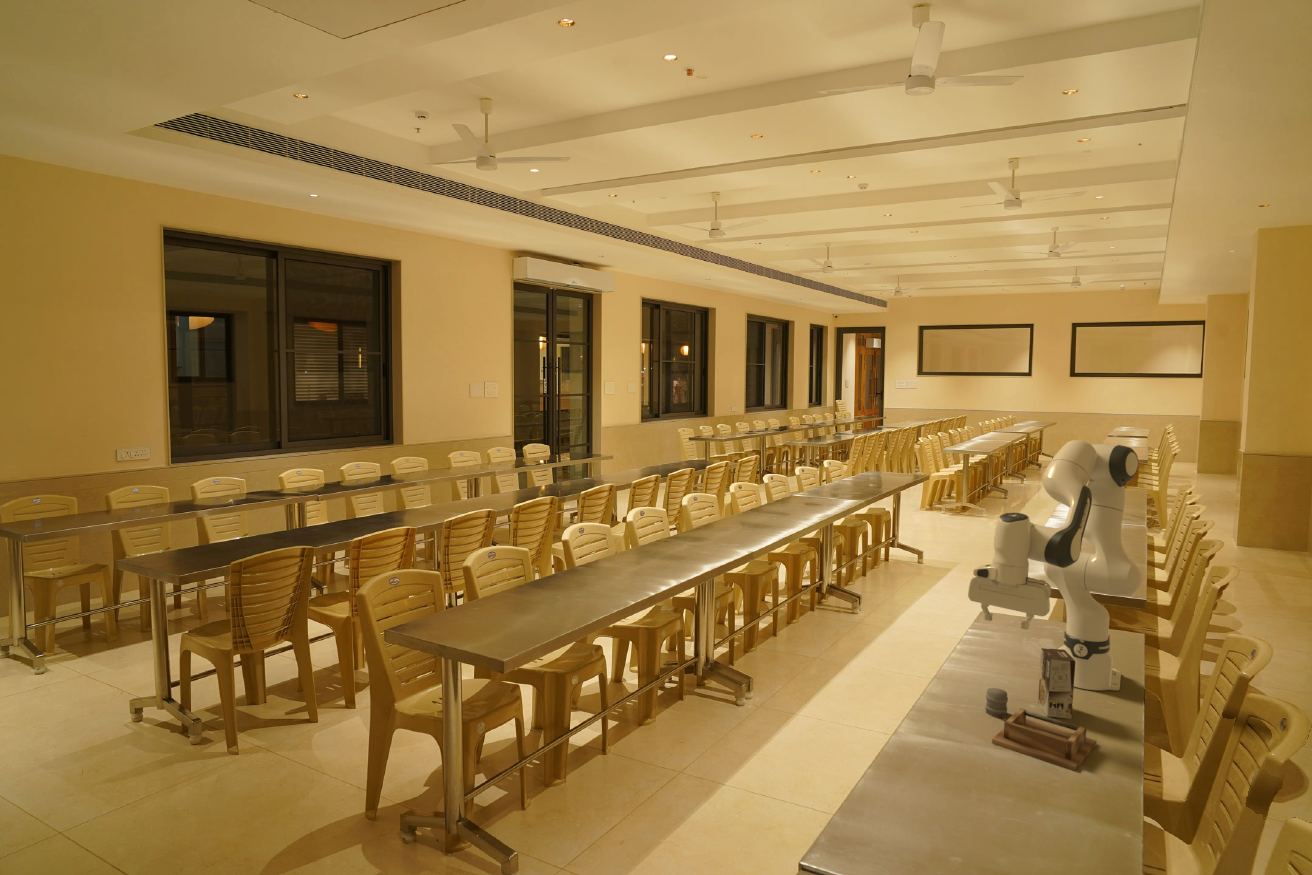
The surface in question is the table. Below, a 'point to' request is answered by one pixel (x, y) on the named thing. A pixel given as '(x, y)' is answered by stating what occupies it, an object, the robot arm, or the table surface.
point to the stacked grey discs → (996, 702)
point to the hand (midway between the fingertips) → (1006, 624)
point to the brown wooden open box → (1045, 739)
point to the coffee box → (1056, 683)
